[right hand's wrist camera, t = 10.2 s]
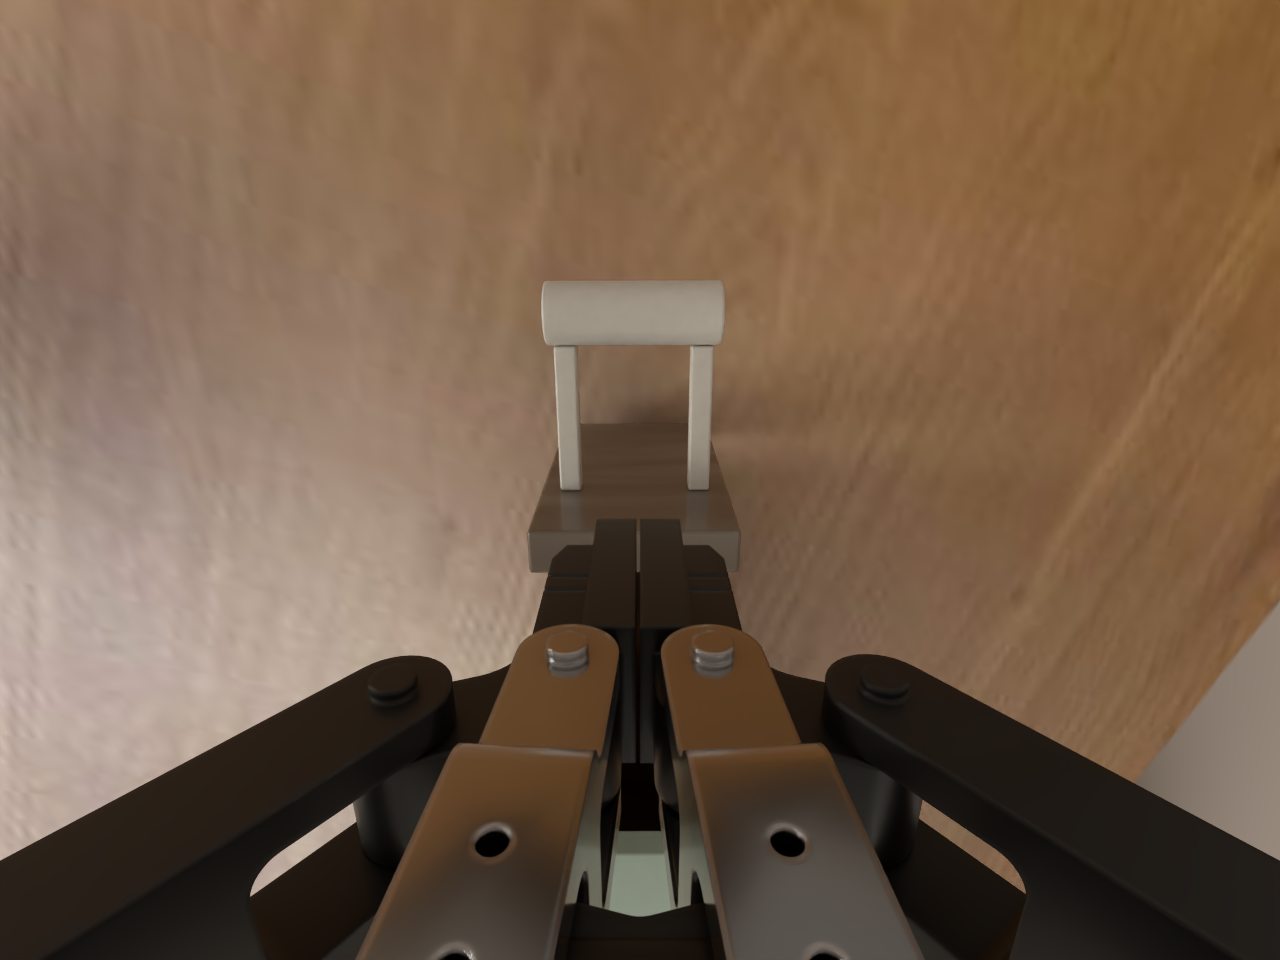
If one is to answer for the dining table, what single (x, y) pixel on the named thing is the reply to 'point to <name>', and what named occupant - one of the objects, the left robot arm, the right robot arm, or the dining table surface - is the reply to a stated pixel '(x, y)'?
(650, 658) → the right robot arm
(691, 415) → the drawer
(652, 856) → the cabinet
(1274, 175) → the dining table surface
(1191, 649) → the dining table surface
